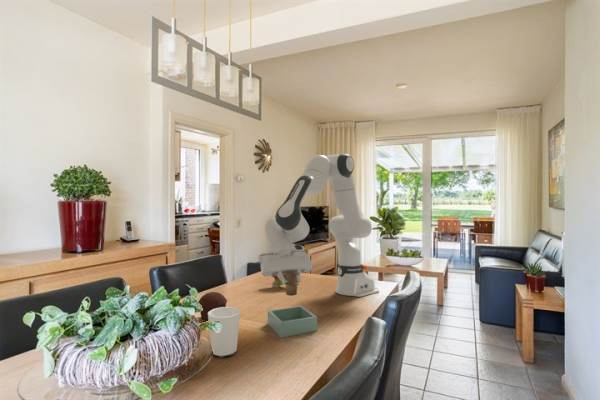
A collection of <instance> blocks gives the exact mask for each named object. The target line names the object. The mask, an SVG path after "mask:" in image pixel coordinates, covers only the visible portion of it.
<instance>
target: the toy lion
mask: <svg viewBox="0 0 600 400" xmlns="http://www.w3.org/2000/svg"><path fill="white" fill-rule="evenodd" d="M282 276H283V277H284V278H286V274H284V275H282ZM297 276H298V275H297ZM271 277H272V278H273V279H274V281H272V287H273V288H275V289H277V288H279V287H281V286H283V285H285V284H282V281H281V280H280V279H279V278H278V277H277V275H274V276H271ZM298 286H299V283H297V287H298Z"/></svg>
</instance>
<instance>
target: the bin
mask: <svg viewBox="0 0 600 400" xmlns="http://www.w3.org/2000/svg"><path fill="white" fill-rule="evenodd" d="M267 324H268V326H269V327H270V328H271V329H272V330H273V331H274V332H275V333H276V334H277V335H278V336H279V337H280V338H287V337H291V336H297V335H302V334H307V333H313V332H318V317H317V315H315V314H313V313H312V312H311V311H309V310H308V309H306V308H305V307H303V305H296V306H291V307H290V306H289V307H283V308H277V309H270V310H267Z"/></svg>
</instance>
